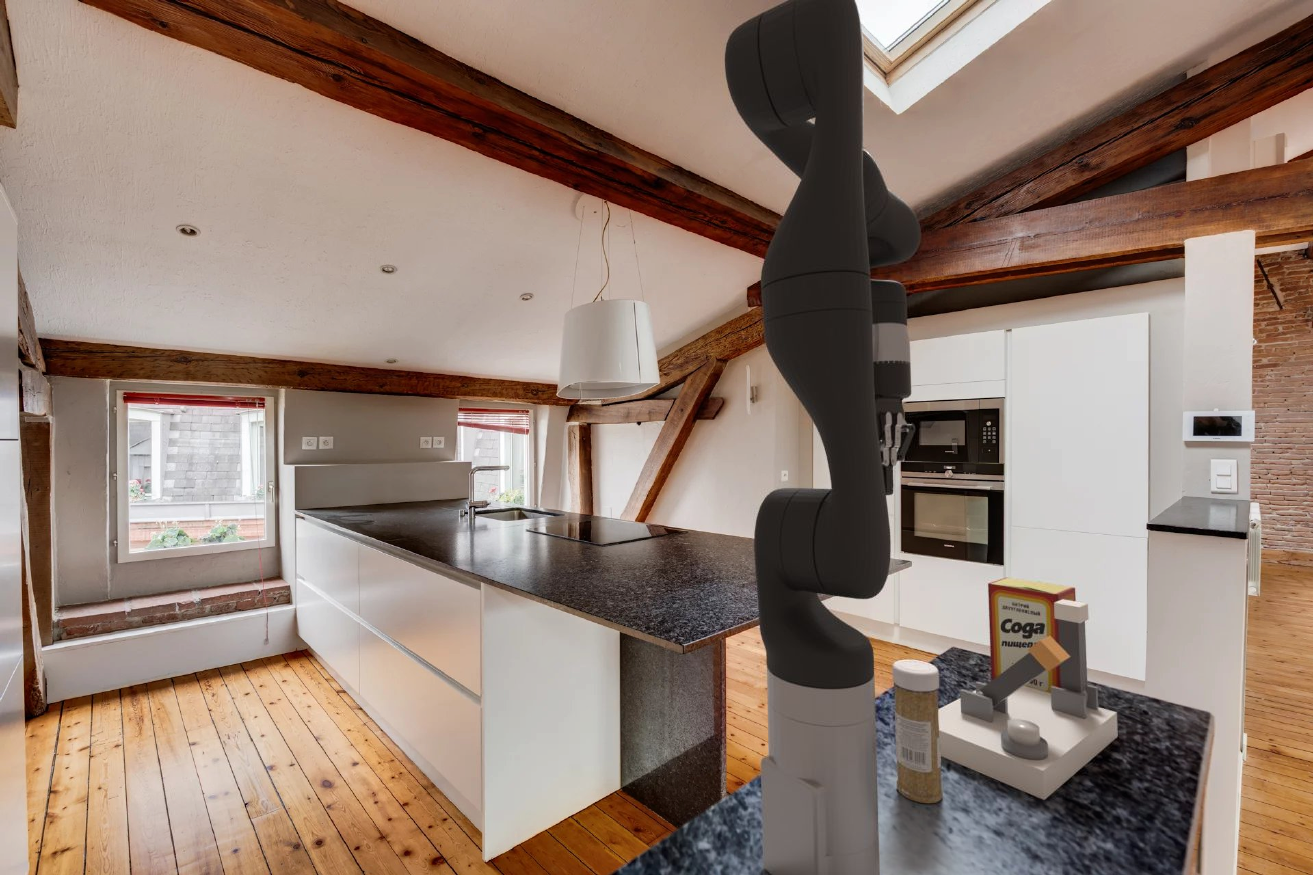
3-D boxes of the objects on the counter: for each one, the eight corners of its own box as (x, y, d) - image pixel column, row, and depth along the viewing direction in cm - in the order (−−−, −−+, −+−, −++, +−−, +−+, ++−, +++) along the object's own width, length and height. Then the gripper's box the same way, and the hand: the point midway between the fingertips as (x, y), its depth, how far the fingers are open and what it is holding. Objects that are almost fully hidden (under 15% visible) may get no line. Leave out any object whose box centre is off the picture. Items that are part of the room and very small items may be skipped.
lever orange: (981, 718, 72) (1060, 661, 65) (964, 697, 74) (1040, 640, 67) (991, 712, 74) (1070, 656, 66) (975, 691, 75) (1050, 635, 68)
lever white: (1083, 712, 72) (1079, 607, 72) (1057, 705, 74) (1054, 602, 74) (1091, 706, 73) (1087, 603, 74) (1066, 699, 75) (1062, 599, 76)
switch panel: (1044, 799, 59) (1042, 743, 60) (916, 745, 71) (915, 698, 71) (1117, 736, 72) (1115, 689, 72) (999, 699, 84) (997, 658, 84)
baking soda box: (991, 684, 89) (987, 580, 89) (1009, 674, 93) (1006, 575, 93) (1062, 705, 81) (1058, 592, 82) (1079, 693, 85) (1075, 585, 86)
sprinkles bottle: (951, 795, 61) (947, 666, 61) (926, 810, 58) (922, 676, 58) (911, 775, 64) (908, 654, 65) (886, 789, 62) (883, 663, 62)
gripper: (875, 353, 68) (878, 499, 68) (933, 363, 76) (937, 494, 76) (823, 362, 75) (826, 496, 74) (882, 370, 82) (885, 491, 82)
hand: (882, 494), depth 75 cm, fingers closed
